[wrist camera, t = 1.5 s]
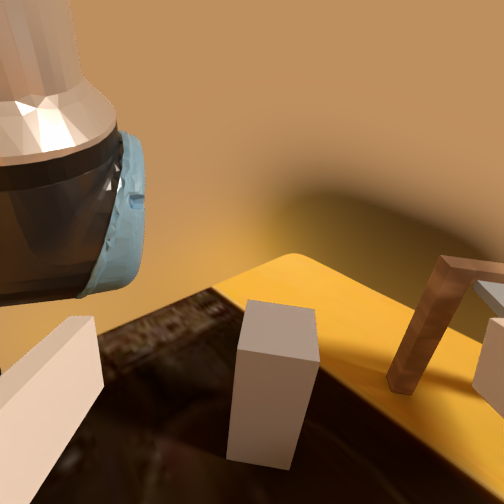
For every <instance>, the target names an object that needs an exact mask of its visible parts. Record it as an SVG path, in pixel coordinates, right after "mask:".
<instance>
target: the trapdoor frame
mask: <svg viewBox="0 0 504 504" xmlns="http://www.w3.org/2000/svg"><path fill="white" fill-rule="evenodd" d="M477 280H479V281H486V282H494V283H501V284H504V264H503V263H495V262H488V261H480V260H472V259H466V258H459V257H451V256H443V255H440V256H439V258H438V261H437V263H436V265H435V267H434V270H433V272H432V274H431V276H430V279H429V281H428V283H427V285H426V288H425V290H424V292H423V295H422V297H421V299H420V301H419V304H418V306H417V308H416V310H415V312H414V315H413V317H412V319H411V321H410V324H409V326H408V328H407V330H406V333H405V335H404V337H403V339H402V342H401V344H400V346H399V348H398V351H397V353H396V355H395V357H394V359H393V362H392V364H391V366H390V368H389V371H388V373H387V375H386V377H387V380H388V383H389V386H390V389H391V392H395V393H401V394H408V395H412V393H413V391H414V389H415V388H416V386H417V384H418V382H419V380H420V378H421V376H422V374H423V372H424V370H425V368H426V367H427V365H428V363H429V361H430V359H431V357H432V355H433V353H434V351H435V349H436V348H437V346H438V344H439V342H440V340H441V338H442V336H443V334H444V332H445V330H446V329H447V327H448V325H449V323H450V321H451V319H452V317H453V315H454V313H455V311H456V309H457V308H458V306H459V304H460V302H461V300H462V298H463V296H464V294H465V292H466V290H467V289H468V287H469V284H470V283H474V284H475V283H476V281H477Z"/></svg>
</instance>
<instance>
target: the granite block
mask: <svg viewBox="0 0 504 504" xmlns="http://www.w3.org/2000/svg"><path fill="white" fill-rule="evenodd" d="M319 364H320V356H319V347H318V338H317V329H316V320H315V311H314V309H309V308H302V307H296V306H289V305H282V304H275V303H268V302H262V301H255V300H247V305H246V310H245V314H244V319H243V324H242V329H241V334H240V338H239V343H238V348H237V357H236V367H235V377H234V387H233V397H232V406H231V416H230V426H229V436H228V446H227V456H226V459H228V460H233V461H239V462H245V463H250V464H256V465H262V466H267V467H273V468H279V469H284V470H289V469H290V466H291V462H292V459H293V455H294V452H295V448H296V445H297V441H298V438H299V434H300V431H301V427H302V424H303V420H304V417H305V413H306V410H307V406H308V403H309V399H310V396H311V392H312V389H313V385H314V382H315V378H316V375H317V371H318V368H319Z"/></svg>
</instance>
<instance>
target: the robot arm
mask: <svg viewBox="0 0 504 504" xmlns="http://www.w3.org/2000/svg"><path fill="white" fill-rule="evenodd" d="M144 194H145V166H144V156H143V150H142V146H141V142H140V141H139V139H138V138H137V137H136V136H134V135H130V134H128V133H127V132H123V131H118V130H117V120H116V113H115V109H114V107H113V105H112V103H110V101H109V100H108V99H107V98H106V97H105V96H103V95H102V94H101V93H100V92H99V91H98V90H97V89H96V88H95V87H94V86H92V85H91V84H90V83H89V82H88V81H87V80H86V79H85V78H84V77H83V74H82V72H81V66H80V60H79V54H78V49H77V43H76V37H75V31H74V25H73V19H72V13H71V7H70V1H69V0H0V307H2V306H12V305H20V304H28V303H38V302H46V301H55V300H63V299H71V298H76V299H81V298H84V297H86V296H87V295H90V294H95V293H100V292H105V291H111V290H117V289H120V288H123V287H125V286H127V285H128V284H130V283H131V282H132V281H133V279H134V278H135V277H136V275H137V273H138V271H139V267H140V263H141V258H142V251H143V242H144V227H145V208H144V205H143V203H144V199H145V196H144ZM103 387H104V382H103V376H102V369H101V362H100V355H99V349H98V342H97V335H96V329H95V322H94V316H69V317H68V318H67V319H66V320H64V321H63V322H62V323H61V324H60V325H59V326H58V327H56V328H55V329H54V330H53V331H52V332H51V333H49V334H48V335H47V336H46V337H45V338H44V339H43V340H41V341H40V342H39V343H38V344H37V345H36V346H35V347H33V348H32V349H31V350H30V351H29V352H28V353H26V354H25V355H24V356H23V357H22V358H21V359H20V360H18V362H16V363H15V364H14V365H13V366H12V367H10V368H9V369H8V370H7V371H6V372H5V373H3V374H2V375H1V369H0V504H30V502H31V501H32V499H33V497H34V496H35V494H36V493H37V491H38V490H39V488H40V486H41V485H42V483H43V482H44V480H45V479H46V477H47V475H48V474H49V472H50V471H51V469H52V468H53V466H54V464H55V463H56V461H57V460H58V458H59V457H60V455H61V453H62V452H63V450H64V449H65V447H66V446H67V444H68V442H69V441H70V439H71V438H72V436H73V434H74V433H75V431H76V430H77V428H78V427H79V425H80V423H81V422H82V420H83V419H84V417H85V416H86V414H87V412H88V411H89V409H90V408H91V406H92V405H93V403H94V401H95V400H96V398H97V397H98V395H99V394H100V392H101V390H102V389H103ZM472 387H473V388H474V389H475V390H476V391H477V392H478V393H479V394H480V395H481V396H482V397H483V398H484V399H485V400H486V401H487V402H488V403H489V404H490V405H491V406H492V407H493V408H494V409H495V410H496V411H497V412H498V413H499V414H500V415H501V416H502V417H503V418H504V318H490V319H489V323H488V327H487V330H486V334H485V338H484V342H483V346H482V349H481V353H480V357H479V361H478V364H477V368H476V372H475V376H474V379H473V383H472Z"/></svg>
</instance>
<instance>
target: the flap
mask: <svg viewBox="0 0 504 504" xmlns="http://www.w3.org/2000/svg"><path fill="white" fill-rule="evenodd" d="M473 289H474V291H475V292H476V293H477V294H478V295H479V296H480V297H481V298H482V299H483V300H484V301H485V302H486V303H487V305H488V306H489V307H490V308H491V309H492V310H493V311H494V312H495V313H496V314H497V315H498V316H499V317H500V318H504V284H501V283H494V282H486V281H479V280H477V281H476V283H475V285H474V287H473Z"/></svg>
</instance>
